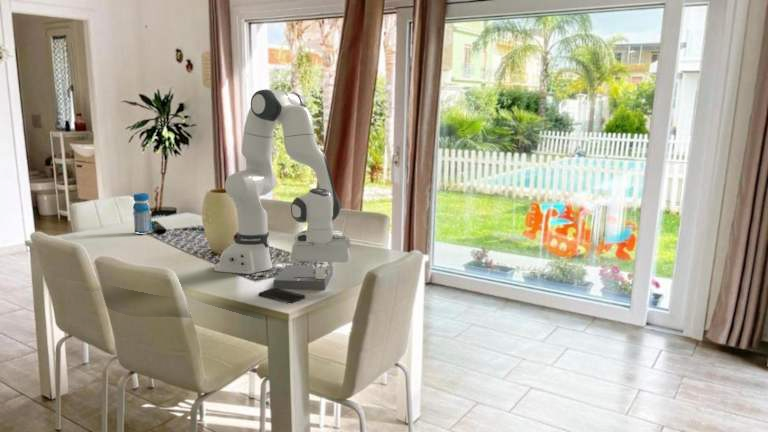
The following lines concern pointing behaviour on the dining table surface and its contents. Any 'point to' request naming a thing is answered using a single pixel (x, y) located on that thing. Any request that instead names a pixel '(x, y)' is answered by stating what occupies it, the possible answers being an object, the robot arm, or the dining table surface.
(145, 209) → the beverage bottle
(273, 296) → the phone
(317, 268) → the fader knob
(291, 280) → the mixer panel
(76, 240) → the dining table surface
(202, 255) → the dining table surface
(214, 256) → the dining table surface
